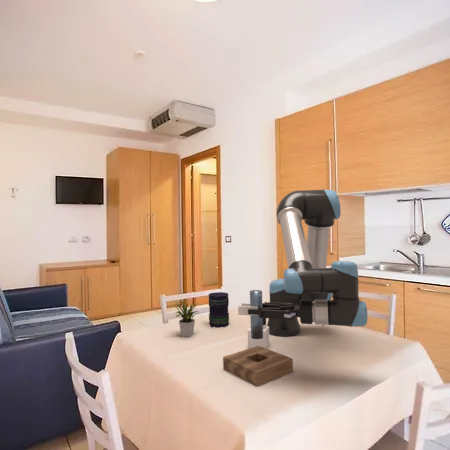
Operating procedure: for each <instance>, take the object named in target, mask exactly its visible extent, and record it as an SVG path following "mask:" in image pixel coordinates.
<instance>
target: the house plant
mask: <svg viewBox="0 0 450 450" xmlns="http://www.w3.org/2000/svg"><path fill="white" fill-rule="evenodd" d="M172 301H174V302H175V303H174V305H175V306H174V307H175V308H176V309H177V310H178V311H176V312H175V315H176V316H175V318H178V317H179V318H180V319H179V321H178V324H179V329H180V335H181V336H182V337H185V338H186V337H187V338H189V337H192V336H193V335H194V329H195V323H196V320H195V319H194V316H196V315H198V314H199V312H200V311H198V310H195V311H194V309H195V308H196V307H197V305H198V304H199V303H201V302H202V300H201V301H199V302H197V303H196V304H193V302H194V301H192V302H191V304H190V306H189V308H188V305H189V302H190V301H187V302H186V304H185V303H184V301H183V300H182V299H180V302H181V305H182V306H181V305H180V303H179V302H178V301H177V300H173V299H172Z"/></svg>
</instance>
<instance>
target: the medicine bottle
mask: <svg viewBox="0 0 450 450" xmlns="http://www.w3.org/2000/svg"><path fill="white" fill-rule="evenodd" d="M269 345H270V334H269V326H267V318H263V338H262V339H253V338H251V326H250V327H248V329H247V349H249V348H252V347H255V346H260V347H263V348H266V349H268V346H269Z"/></svg>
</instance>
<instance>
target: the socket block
mask: <svg viewBox="0 0 450 450" xmlns="http://www.w3.org/2000/svg"><path fill="white" fill-rule="evenodd" d="M293 361H294V359H293V358H292V357H290V356H287V355H284V354H281V353H279V352H276V351H273V350H271V349H268V348H263V347H260V346H255V347H252V348H247V349H244V350H243V349H242V350H241V351H238V352H234V353H231V354H228V355H224V356H223V357H222V363H223V364H222V367H223V370H225V372H228V373H230V374H232V375H234V376H236V377H238V378H240V379H241V380H243V381H246V382H248V383H249V384H251V385H253V386H256V387H259V386H261V385H264V384H266V383H269V382H271V381H273V380H275V379H278V378H279V377H282V376H285V375H287V374H289V373H292V372H294V362H293Z"/></svg>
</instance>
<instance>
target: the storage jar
mask: <svg viewBox="0 0 450 450" xmlns="http://www.w3.org/2000/svg"><path fill="white" fill-rule="evenodd" d="M229 302H230V301H229V293H228V292H223V291H222V292H221V291H218V292H211V293H209V294H208V308H209V309H208V310H209V311H208V312H209V314H208V320H209V321H208V322H209V324H208V325H210V326H211V327H210V326H209V327H210V328H214V327H215V328H214V329H217V328H218V329H221V327H223V328H226V326H227V327H228V325H230V312H229V305H230V303H229Z"/></svg>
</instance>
